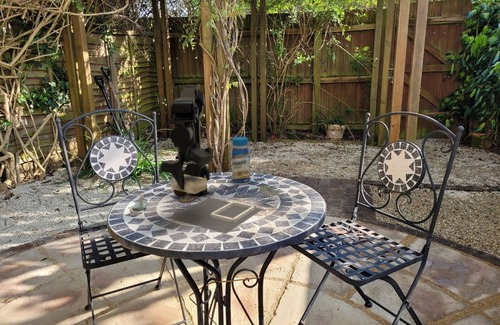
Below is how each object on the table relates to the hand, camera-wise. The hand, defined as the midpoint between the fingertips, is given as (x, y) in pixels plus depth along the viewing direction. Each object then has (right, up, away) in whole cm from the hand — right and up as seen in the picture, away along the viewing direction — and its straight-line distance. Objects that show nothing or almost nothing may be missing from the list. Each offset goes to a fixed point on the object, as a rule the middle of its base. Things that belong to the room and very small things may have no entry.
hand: (189, 186), depth 112 cm
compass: (-4, -7, +19) cm, 21 cm away
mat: (+8, -10, +5) cm, 14 cm away
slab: (0, -1, 0) cm, 1 cm away
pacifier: (-20, -9, +11) cm, 25 cm away
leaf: (+28, -6, +22) cm, 36 cm away
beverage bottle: (+16, -1, +40) cm, 43 cm away
